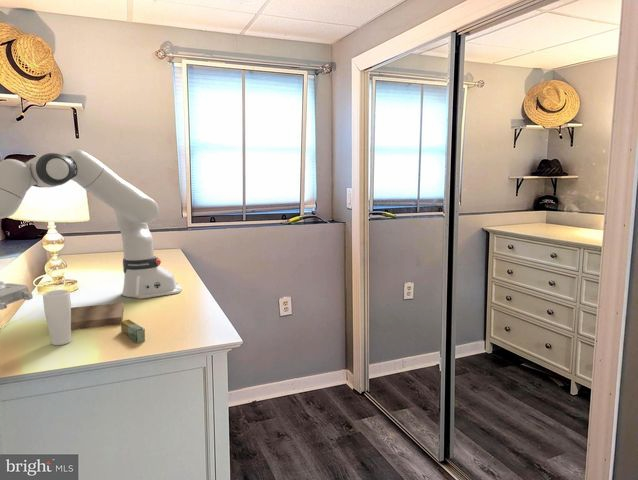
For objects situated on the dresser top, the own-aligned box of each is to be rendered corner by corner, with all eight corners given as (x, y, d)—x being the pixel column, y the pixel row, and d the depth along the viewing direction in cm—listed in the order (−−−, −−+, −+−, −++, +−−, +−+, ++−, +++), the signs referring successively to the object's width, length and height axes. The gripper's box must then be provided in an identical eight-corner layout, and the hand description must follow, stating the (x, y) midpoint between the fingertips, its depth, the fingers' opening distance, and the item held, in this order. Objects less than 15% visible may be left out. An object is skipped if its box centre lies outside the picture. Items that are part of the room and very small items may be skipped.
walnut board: (123, 309, 165) (123, 302, 164) (122, 324, 150) (121, 316, 150) (59, 315, 158) (59, 308, 157) (51, 332, 143) (50, 324, 143)
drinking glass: (75, 336, 140) (71, 288, 137) (72, 345, 133) (68, 294, 131) (50, 339, 137) (44, 290, 135) (46, 348, 131) (40, 297, 128)
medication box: (145, 341, 137) (145, 328, 136) (136, 343, 135) (136, 330, 134) (129, 330, 145) (128, 318, 145) (120, 333, 143) (119, 320, 143)
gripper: (-59, 298, 126) (-14, 301, 124) (3, 279, 146) (42, 281, 144) (-56, 320, 127) (-12, 323, 125) (5, 299, 147) (44, 301, 145)
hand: (18, 301), depth 135 cm, fingers open, 8 cm apart
